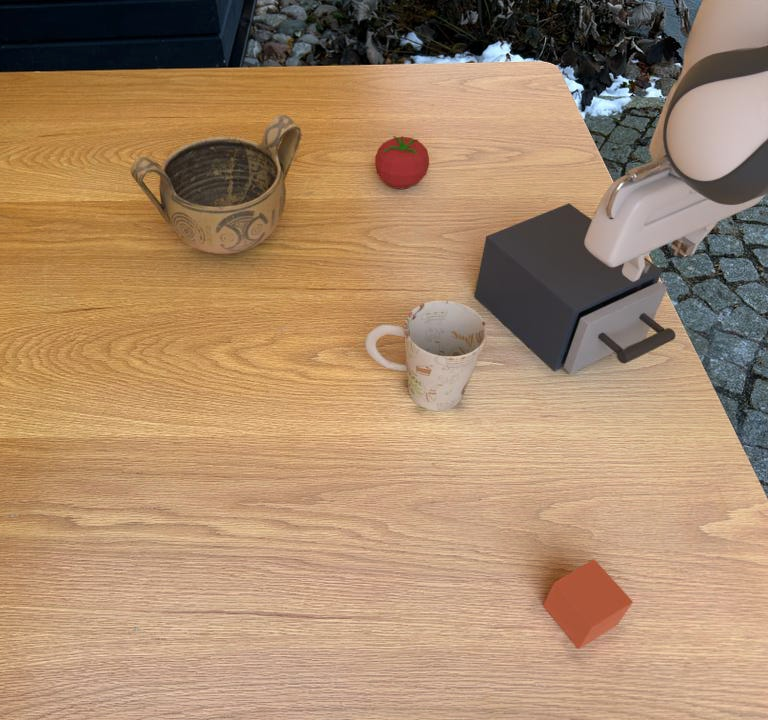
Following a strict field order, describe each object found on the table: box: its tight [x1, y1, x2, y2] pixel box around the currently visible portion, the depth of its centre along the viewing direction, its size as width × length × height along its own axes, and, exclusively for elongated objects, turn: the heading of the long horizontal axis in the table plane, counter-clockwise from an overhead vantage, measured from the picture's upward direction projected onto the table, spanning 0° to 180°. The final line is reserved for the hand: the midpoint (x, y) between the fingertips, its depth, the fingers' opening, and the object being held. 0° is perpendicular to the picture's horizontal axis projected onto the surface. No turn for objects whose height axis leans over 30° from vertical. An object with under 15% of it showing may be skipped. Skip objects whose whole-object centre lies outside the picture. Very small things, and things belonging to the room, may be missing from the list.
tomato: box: [374, 135, 430, 189], centre depth 109 cm, size 8×8×8 cm
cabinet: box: [473, 203, 663, 372], centre depth 88 cm, size 15×13×10 cm
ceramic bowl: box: [130, 113, 303, 255], centre depth 98 cm, size 22×17×15 cm
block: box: [542, 558, 634, 650], centre depth 64 cm, size 4×4×4 cm
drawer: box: [563, 281, 676, 374], centre depth 85 cm, size 18×11×8 cm, turn 28°
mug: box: [364, 299, 488, 412], centre depth 80 cm, size 8×13×10 cm, turn 71°
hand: (657, 264), depth 74 cm, fingers open, 5 cm apart
